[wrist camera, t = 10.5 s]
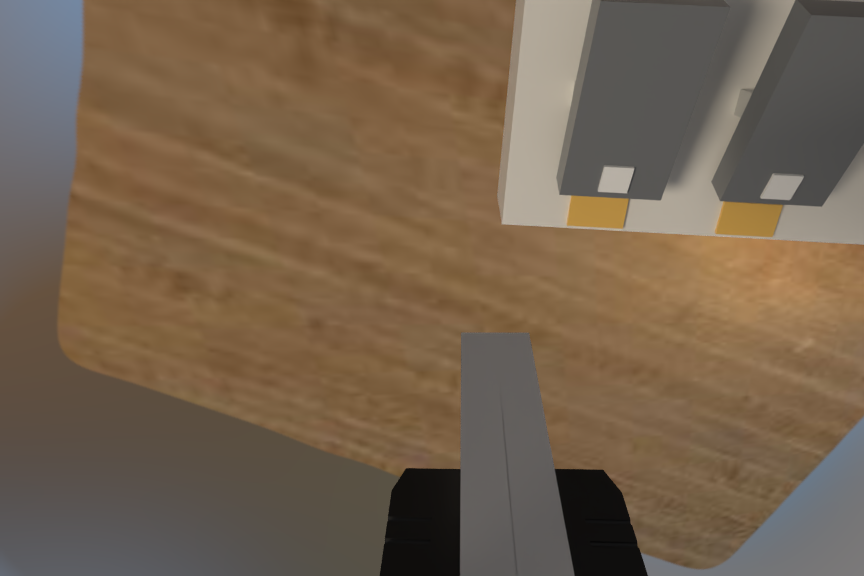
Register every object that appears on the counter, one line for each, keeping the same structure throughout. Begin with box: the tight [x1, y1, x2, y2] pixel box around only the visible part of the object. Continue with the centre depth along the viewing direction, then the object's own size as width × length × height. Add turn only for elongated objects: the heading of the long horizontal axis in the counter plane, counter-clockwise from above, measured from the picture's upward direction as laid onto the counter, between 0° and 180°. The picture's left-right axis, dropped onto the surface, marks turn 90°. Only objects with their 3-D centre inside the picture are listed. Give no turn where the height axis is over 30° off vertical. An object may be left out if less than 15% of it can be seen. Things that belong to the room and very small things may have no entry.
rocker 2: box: [711, 0, 864, 207], centre depth 26 cm, size 9×5×2 cm, turn 178°
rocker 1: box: [556, 0, 730, 200], centre depth 26 cm, size 9×5×2 cm, turn 178°
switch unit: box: [497, 0, 864, 245], centre depth 30 cm, size 14×26×6 cm, turn 88°
